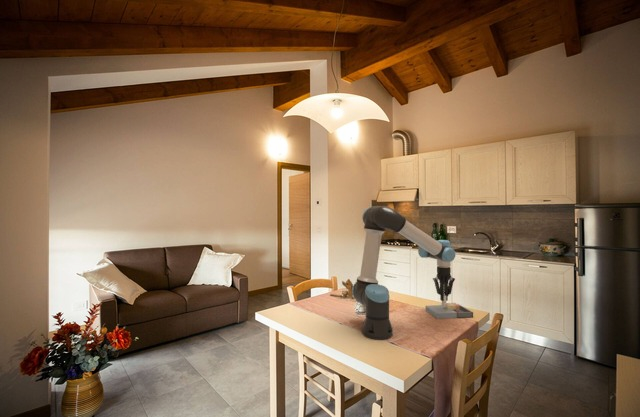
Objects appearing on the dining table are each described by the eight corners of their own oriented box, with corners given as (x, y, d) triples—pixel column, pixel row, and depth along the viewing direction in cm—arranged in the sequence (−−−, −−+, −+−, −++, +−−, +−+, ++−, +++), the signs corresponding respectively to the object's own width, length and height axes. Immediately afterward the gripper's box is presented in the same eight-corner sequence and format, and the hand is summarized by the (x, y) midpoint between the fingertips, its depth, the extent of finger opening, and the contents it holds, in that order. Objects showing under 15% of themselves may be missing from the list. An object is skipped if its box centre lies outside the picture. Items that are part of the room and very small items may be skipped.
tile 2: (455, 313, 177) (459, 313, 177) (455, 305, 177) (459, 305, 177) (451, 311, 182) (454, 310, 182) (450, 302, 182) (454, 302, 182)
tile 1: (455, 309, 177) (455, 305, 177) (447, 310, 176) (447, 305, 176) (451, 307, 182) (451, 302, 182) (443, 307, 181) (443, 303, 181)
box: (473, 317, 172) (473, 312, 172) (457, 318, 171) (457, 312, 171) (458, 308, 187) (458, 304, 187) (443, 309, 186) (443, 304, 186)
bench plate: (456, 317, 172) (456, 312, 172) (436, 318, 171) (436, 313, 171) (444, 309, 186) (444, 304, 186) (425, 310, 185) (425, 305, 185)
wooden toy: (361, 298, 212) (361, 278, 212) (355, 302, 203) (355, 282, 203) (334, 293, 223) (334, 275, 223) (327, 297, 215) (327, 278, 215)
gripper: (450, 264, 183) (451, 303, 183) (430, 265, 182) (430, 304, 182) (457, 267, 176) (458, 307, 176) (436, 267, 174) (436, 308, 174)
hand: (444, 306), depth 179 cm, fingers closed
